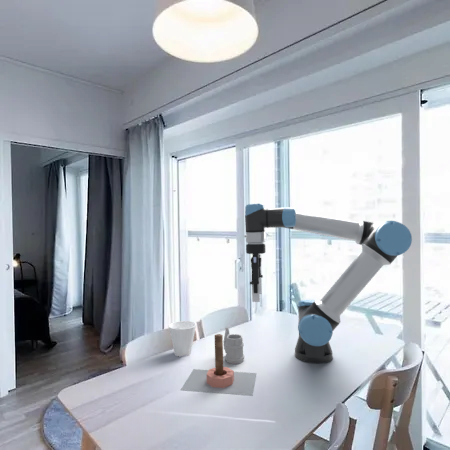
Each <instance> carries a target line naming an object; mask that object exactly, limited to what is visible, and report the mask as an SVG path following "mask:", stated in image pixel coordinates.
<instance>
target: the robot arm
mask: <svg viewBox="0 0 450 450" xmlns="http://www.w3.org/2000/svg"><path fill="white" fill-rule="evenodd" d="M244 210H245V211H244V212H245V213H244V222H245V223H244V226H245V234H244V235H243V237H244V238H245V242H246V244H245V252H246V254H248V255H252V257H251V258H250V267H251V268H250V269H251V281H249V285H251V299H252V300H251V301H252V303H260V302H261V300H260V299H261V298H260V297H261V295H262V293H263V292H262V278H264V276H263V274H262V270H261V269H262V257H261V254H265V253H266V243H265V242H266V228H267V229H269V228H277V229H278V228H282V229H283V228H284V229H289V230H295V231H300V232H306V233H311V234H316V235H320V236H321V235H322V236H327V237H332V238H338V239H343V240H347V241H352V242H355V243H356V244H357V245H361V248H362V249H361V251H360V252H359V254H358V255H357V256H356V257H355V259H354V260H353V261H352V262H351V263H350V264H349V265H348V267H347V268H346V269H345V271H344V272H343V273H342V274H341V275H340V276H339V277H338V279H336V281H335V282H334V284H333V285H332V286H331V287H330V289H329V290H328V291H327V292H326V293H325V294H324V296H323V297H322V298H321V299H301V300H299V301H298V303H297V304H298V305H297V308H298V324H297V331H298V338H297V341H296V345H295V348H294V356H295V357H296V358H297V359H299V361H300V360H301V361H303V362H307V363H311V364H324V363H328V362H331V361H332V360H333V355H334V353H333V350H332V347H331V344H330V340H331V339H332V336H333V332H334V331H335V330H336V328H337V327H338V326H339V325H340V324H341V315H342V314H343V313H344V312H345V311H346V309H347V308H348V307H350V305H351V303H353V301H354V300H356V298H357V296H358V295H359V294H360V293H361V292H362V291H363V290H364V289H365V287H366V286H367V285H368V283H369V282H370V281H371V280H373V278H374V277H375V275H377V273H378V272H379V271H381V270H380V269H381V268H383V267H384V266H386V265H387V266H389V265H390V266H391V264H392V263H393V262H394V261H395V259H397V257H399V256H401V255H403V254H405V253H406V252H407V251H408V250H409V249H410V247H411V246H412V242H413V238H412V233H411V231H410V229H409V228H408V227H407V226H406V225H405V224H403V223H402V222H399V221H397V220H386V221H383V220H382V221H366V220H361V221H359V222H356V221H351V220H346V219H340V218H334V217H329V216H323V215H316V214H312V213H311V214H310V213H305V212H299V211H296V209H295V207H275V208H274V207H273V208H271V207H270V208H266V207H265V205H264V203H247V204H246V205H245V209H244Z"/></svg>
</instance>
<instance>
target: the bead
mask: <svg viewBox="0 0 450 450" xmlns="http://www.w3.org/2000/svg"><path fill="white" fill-rule="evenodd" d="M207 370H208V372H207V383H208V384H209V385H210V386H212V387H217V388H225V387H227V386H230V385H232V384H233V381H234V372H235V371H234V370H233V369H231V368H229V367H228V366H223V374H224V375H223V376H217V375H216V374H215V367H212V368H209V369H207Z"/></svg>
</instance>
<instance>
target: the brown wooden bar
mask: <svg viewBox="0 0 450 450" xmlns="http://www.w3.org/2000/svg"><path fill="white" fill-rule="evenodd" d="M214 362H215V363H214V365H215V366H214V368H215V374H216V375H217V376H223V375H224V374H223V367H224V336H223V334H221V333H220V334H219V333H217V334H214Z"/></svg>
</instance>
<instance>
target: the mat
mask: <svg viewBox="0 0 450 450" xmlns="http://www.w3.org/2000/svg"><path fill="white" fill-rule="evenodd" d="M208 370H209V369H199V368H198V369H197V368H193V369H192V371H191V373H190V374H189V375H188V377H187V379H186V380H185V382H184V384H183V385H182V387H181V389H180V391H183V392H184V391H187V392H198V393H199V392H200V393H210V394H223V395H224V394H225V395H238V396H239V395H240V396H251V397H253V395H254V390H255V385H256V380H257V372H243V371H234V381H233V384H232V385H230V386H227V387H225V388H217V387H212V386H210V385H209V384H208V383H207V372H208Z"/></svg>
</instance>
